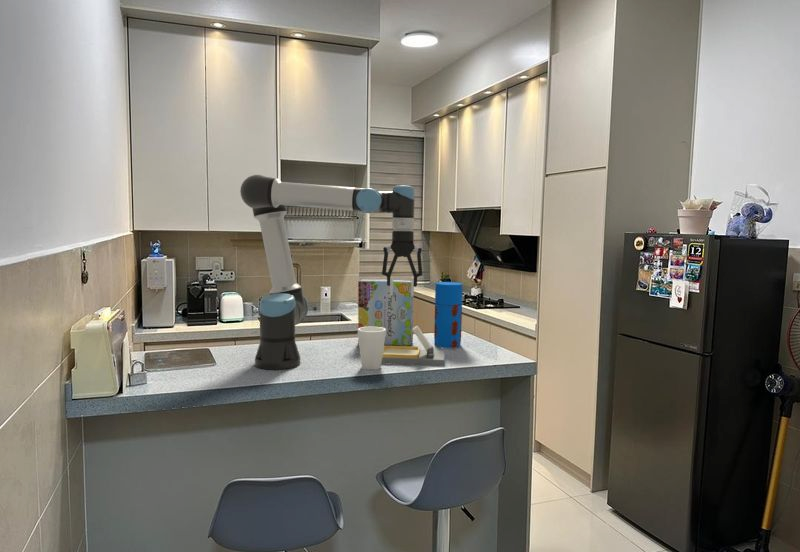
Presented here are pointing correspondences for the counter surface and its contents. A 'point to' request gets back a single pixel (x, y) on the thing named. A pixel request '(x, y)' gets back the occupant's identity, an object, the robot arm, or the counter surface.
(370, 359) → the foam cup
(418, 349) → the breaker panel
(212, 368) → the counter surface
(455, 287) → the thermos
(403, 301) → the snack box
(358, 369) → the counter surface
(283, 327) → the robot arm
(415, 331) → the lever
